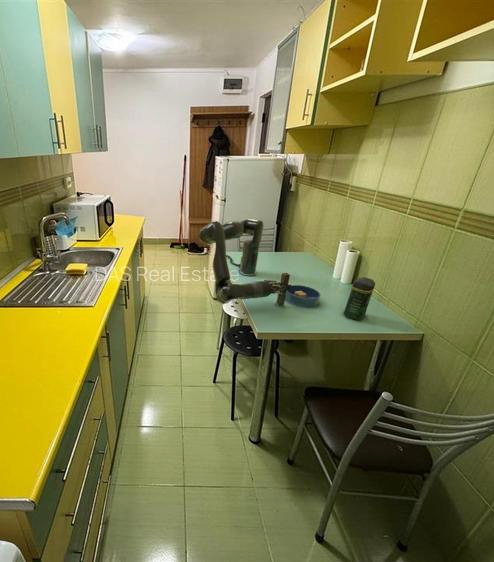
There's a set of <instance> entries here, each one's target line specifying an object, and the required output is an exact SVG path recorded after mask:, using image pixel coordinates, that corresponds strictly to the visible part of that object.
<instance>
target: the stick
mask: <svg viewBox="0 0 494 562" xmlns="http://www.w3.org/2000/svg"><path fill="white" fill-rule="evenodd" d="M290 277H291V274H290V273H289V272H282V273H281V276H280V281H279V282H280V285H281V286H283V285H284V286H285V285H289V282H290ZM281 289H283V288H281ZM286 293H287V291H286ZM286 293H285V294H283V295H282V296H279V294H278V293H277V298H276V304H277V305H278V306H285V302H286V300H285V298H286Z"/></svg>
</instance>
